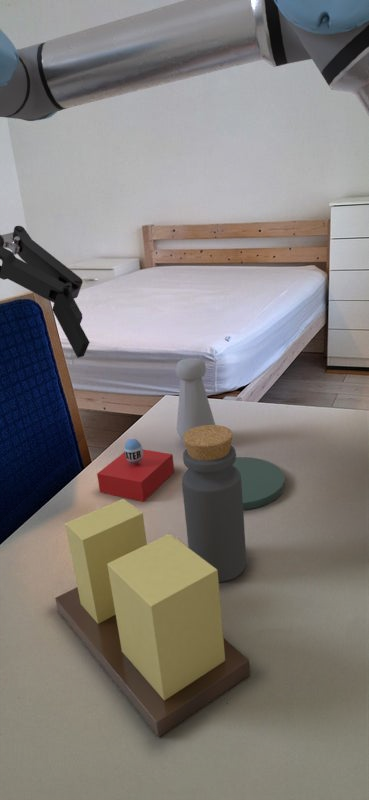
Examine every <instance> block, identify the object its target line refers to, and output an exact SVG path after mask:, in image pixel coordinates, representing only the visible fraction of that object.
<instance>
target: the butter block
mask: <svg viewBox="0 0 369 800" xmlns="http://www.w3.org/2000/svg"><path fill="white" fill-rule="evenodd" d="M107 565H108V571H109V577H110V583H111V589H112V595H113V601H114V607H115V613H116V619H117V625H118V631H119V637H120V643H121V649H122V652H123V653H124V655H125V656H126V657H127V658H128V659H129V660H130V661H131V663H132V664H133V665H134V666H135V667H136V668H137V670H138V671H139V672H140V673H141V674H142V675H143V676H144V678H145V679H146V680H147V681H148V682H149V683H150V685H151V686H152V687H153V688H154V689H155V690H156V692H157V693H158V694H159V695H160V696H161V697H162V698H163V700H166V699H168V698H169V697H171V696H172V695H174V694H175V693H177V692H178V691H180V690H181V689H183V688H185V687H186V686H188V685H189V684H191V683H192V682H194V681H195V680H197V679H198V678H200V677H201V676H203V675H204V674H206V673H207V672H209V671H210V670H212V669H213V668H215V667H217V666H218V665H220V664H221V663H223V662H224V661H225V652H224V640H223V638H224V630H223V629H224V628H223V617H222V607H221V594H220V582H218V570H217V569H216V568H214V567H213V566H212V565H210V564H209V563H208V562H206V561H205V560H204V559H202V558H201V557H200V556H199V555H197V554H196V553H195V552H193V551H192V550H191V549H189V547H188V545H185V544H184V543H183V542H181V541H180V540H179V539H178V538H176V537H175V536H173V535H172V534H171V533H167V534H165V535H163V536H161V537H159V538H157V539H155V540H153V541H151V542H149V543H147V545H145V546H143V547H141V548H139V549H137V550H134V551H132V552H130V553H128V554H126V555H124V556H122V557H120V558H118V559H116V560H114V561H112V562H110V563H108V564H107Z"/></svg>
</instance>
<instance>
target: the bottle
mask: <svg viewBox="0 0 369 800" xmlns="http://www.w3.org/2000/svg"><path fill="white" fill-rule="evenodd" d="M183 440H184V443H185V444H184V446H185V449H184V451H183V452H182V460H183V461H182V462H183V464H184V466H185V467H186V468H187V469H185V471H184V472H183V474H182V475H181V486H182V497H183V508H184V516H185V517H184V518H185V526H186V536H187V547H188V548H189V549H191V550H192V551H193V552H195V553H196V554H197V555H199V556H200V557H201V558H202V559H204V560H205V561H206V562H208V563H209V564H210V565H212V566H213V567H214V568H216V569H217V570H218V582H219V583H222V582H227V581H231V580H233V579H235V578H237V577H240V575H241V574H242V573H243V572H244V571H245V569H246V567H247V552H246V551H247V547H246V531H245V515H244V514H245V513H244V510H243V498H242V483H241V474H240V472H239V470H238V469H237V468H236V467H235V466H233V464H234V462H235V461H236V457H237V451H236V449H235V446H233V445H232V441H233V432H232V430H231V429H229V428H228V427H226V426H224V425H218V424H215V425H203V426H198V427H195V428H192V429H190V430H188V431H187V432H186V433H185V434H184V436H183Z"/></svg>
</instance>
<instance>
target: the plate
mask: <svg viewBox="0 0 369 800" xmlns="http://www.w3.org/2000/svg"><path fill="white" fill-rule="evenodd" d="M233 466H235V467H236V468H237V469H238V470H239V472H240V474H241V483H242V498H243V511H245V510H253V509H257V508H260V507H263V506H265V505H268V504H270V503H272V502H274V501H275V500H276V499H278V498H279V497H280V496H281V495H282V493H283V492H284V489H285V485H286V484H285V474H284V473H283V471H282V469H280V468H279V466H277V465H276V464H274V463H272V462H270V461H268V460H265V459H261V458H258V457H249V456H236V461H235V462H234V464H233Z"/></svg>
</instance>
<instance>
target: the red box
mask: <svg viewBox="0 0 369 800" xmlns="http://www.w3.org/2000/svg"><path fill="white" fill-rule="evenodd" d="M123 449H124V451H123V453H121V454H120V455H119V456H117V457H116V458H115V459H113V460H112V461H111V462H110V463H108V464H107V465H106V466H105V467H103V468H102V469H101V470H99V471H98V472H97V473H96V477H97V483H98V488H99V493H101V494H106V495H109V496H115V497H120V498H123V499H129V500H133V501H139V502H144V503H145V501H146V500H147V499H149V497H150V496H152V495H153V494H154V492H155V491H157V490H158V488H160V487H161V486H162V485H163V484H164V483H165V482H166V481H167V480H168V479H169V478H171V476H172V475H173V474H174V473H175V465H174V455H173V453H169V452H168V453H167V452H161V451H155V450H149V449H144V448H143V446H142V444H141V442H140V441H139V440H138V439H136V438H129V439H128V440H126V443H125V445H124V448H123Z"/></svg>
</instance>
